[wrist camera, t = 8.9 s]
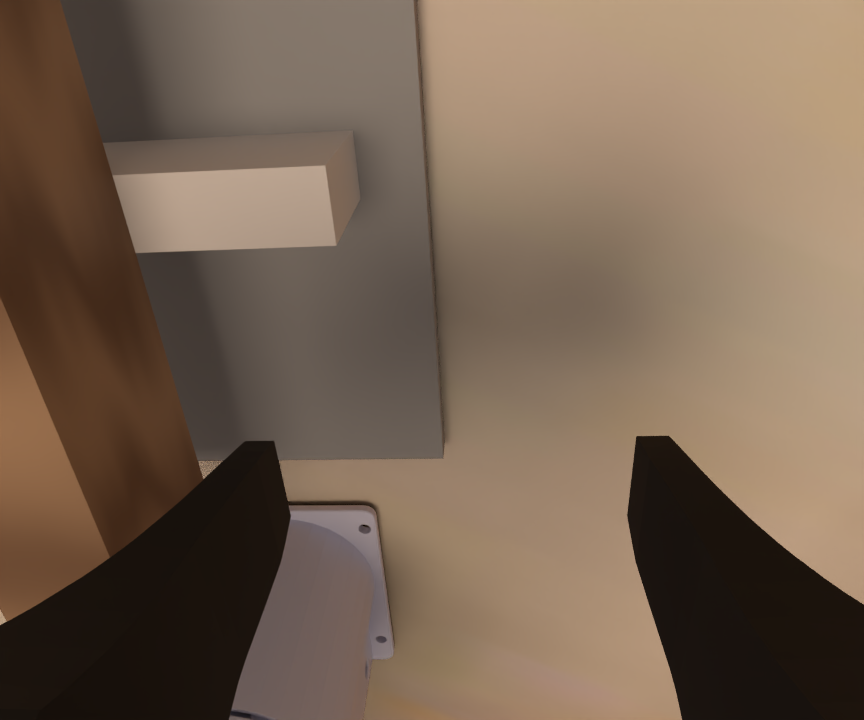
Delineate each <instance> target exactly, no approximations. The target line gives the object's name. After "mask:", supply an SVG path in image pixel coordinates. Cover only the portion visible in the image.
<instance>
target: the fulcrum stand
mask: <svg viewBox="0 0 864 720" xmlns="http://www.w3.org/2000/svg"><path fill="white" fill-rule="evenodd" d="M60 2H61V5H62V8H63V12H64V15H65V18H66V22H67V25H68V28H69V32H70V35H71V39H72V42H73V45H74V49H75V52H76V55H77V59H78V62H79V65H80V69H81V72H82V75H83V79H84V82H85V85H86V89H87V92H88V95H89V99H90V102H91V105H92V109H93V112H94V115H95V119H96V122H97V126H98V129H99V132H100V136H101V139H102V142H103V146H104V149H105V152H106V156H107V159H108V162H109V166H110V169H111V172H112V176H113V179H114V182H115V186H116V189H117V192H118V196H119V199H120V202H121V206H122V209H123V213H124V216H125V219H126V223H127V226H128V229H129V233H130V236H131V239H132V243H133V246H134V249H135V253H136V256H137V259H138V263H139V266H140V269H141V273H142V276H143V279H144V283H145V286H146V289H147V293H148V296H149V300H150V303H151V306H152V310H153V313H154V316H155V320H156V323H157V326H158V330H159V333H160V336H161V340H162V343H163V346H164V350H165V353H166V356H167V360H168V363H169V366H170V370H171V373H172V376H173V380H174V383H175V387H176V390H177V393H178V397H179V400H180V403H181V407H182V410H183V413H184V417H185V420H186V423H187V427H188V430H189V433H190V437H191V440H192V443H193V447H194V450H195V453H196V457H197V460H198V461H224V460H225V459H226V458H227V457H228V456H229V455H230V454H231V453H232V452H233V451H234V450H236V449H237V448H238V447H239V446H240V445H241V444H242V443H243V442H245V441H274V442H275V447H276V451H277V456H278V460H332V459H436V458H443V457H444V443H445V442H444V426H443V410H442V394H441V378H440V362H439V347H438V331H437V315H436V299H435V283H434V267H433V251H432V236H431V220H430V204H429V188H428V172H427V156H426V140H425V125H424V109H423V93H422V77H421V61H420V45H419V29H418V14H417V0H60Z"/></svg>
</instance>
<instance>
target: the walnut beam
mask: <svg viewBox="0 0 864 720" xmlns="http://www.w3.org/2000/svg"><path fill="white" fill-rule="evenodd" d="M201 481H203V477H202V474H201V470H200V467H199V464H198V460H197V457H196V453H195V450H194V447H193V443H192V440H191V437H190V433H189V430H188V427H187V423H186V420H185V417H184V413H183V410H182V407H181V403H180V400H179V397H178V393H177V390H176V387H175V383H174V380H173V376H172V373H171V370H170V366H169V363H168V360H167V356H166V353H165V350H164V346H163V343H162V340H161V336H160V333H159V330H158V326H157V323H156V320H155V316H154V313H153V310H152V306H151V303H150V300H149V296H148V293H147V289H146V286H145V283H144V279H143V276H142V273H141V269H140V266H139V263H138V259H137V256H136V253H135V249H134V246H133V243H132V239H131V236H130V233H129V229H128V226H127V223H126V219H125V216H124V213H123V209H122V206H121V202H120V199H119V196H118V192H117V189H116V186H115V182H114V179H113V176H112V172H111V169H110V166H109V162H108V159H107V156H106V152H105V149H104V146H103V142H102V139H101V136H100V132H99V129H98V126H97V122H96V119H95V115H94V112H93V109H92V105H91V102H90V99H89V95H88V92H87V89H86V85H85V82H84V79H83V75H82V72H81V69H80V65H79V62H78V59H77V55H76V52H75V49H74V45H73V42H72V39H71V35H70V32H69V28H68V25H67V22H66V18H65V15H64V12H63V8H62V5H61V2H60V0H0V610H1V612H2V613H3V615H4V617H5V619H6V620H7V621H9V620H11V619H13V618H14V617H16V616H18V615H20V614H22V613H23V612H25V611H27V610H29V609H31V608H32V607H34V606H36V605H37V604H39V603H41V602H42V601H44V600H46V599H47V598H49V597H50V596H52V595H54V594H55V593H57V592H58V591H60V590H62V589H63V588H65V587H67V586H68V585H70V584H71V583H73V582H75V581H76V580H78V579H80V578H81V577H83V576H84V575H86V574H87V573H89V572H90V571H92V570H93V569H94V568H96V567H97V566H99V565H100V564H102V563H103V562H104V561H106V560H107V559H109V558H110V557H111V556H113V555H114V554H116V553H117V552H118V551H120V550H121V549H122V548H124V547H125V546H126V545H128V544H129V543H130V542H132V541H133V540H134V539H135V538H137V537H138V536H139V535H140V534H142V533H143V532H144V531H145V530H146V529H148V528H149V527H150V526H151V525H152V524H154V523H155V522H156V521H157V520H158V519H160V518H161V517H162V516H163V515H164V514H166V513H167V512H168V511H169V510H170V509H171V508H173V507H174V506H175V505H176V504H177V503H178V502H180V501H181V500H182V499H183V498H184V497H185V496H186V495H187V494H188V493H189V492H191V491H192V490H193V489H194V488H195V487H196V486H197V485H198V484H199V483H200V482H201Z"/></svg>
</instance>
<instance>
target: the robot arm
mask: <svg viewBox="0 0 864 720" xmlns="http://www.w3.org/2000/svg"><path fill="white" fill-rule="evenodd" d="M627 516H628V522H629V528H630V533H631V539H632V544H633V550H634V555H635V560H636V564H637V567H638V571H639V574H640V577H641V580H642V583H643V586H644V590H645V593H646V596H647V599H648V602H649V605H650V608H651V611H652V615H653V618H654V621H655V624H656V627H657V630H658V633H659V636H660V639H661V642H662V646H663V649H664V652H665V655H666V658H667V661H668V664H669V667H670V671H671V674H672V678H673V682H674V685H675V689H676V693H677V697H678V702H679V707H680V711H681V716H682V720H864V605H863V604H862V603H860V602H859V601H857V600H856V599H854V598H852V597H851V596H849V595H848V594H846V593H845V592H843V591H842V590H840V589H839V588H837V587H836V586H835V585H833V584H832V583H830V582H829V581H827V580H826V579H825V578H823V577H822V576H821V575H819V574H818V573H817V572H815V571H814V570H813V569H811V568H810V567H809V566H807V565H806V564H804V563H803V562H802V561H800V560H799V559H798V558H796V557H795V556H794V555H793V554H791V553H790V552H789V551H788V550H786V549H785V548H784V547H783V546H781V545H780V544H779V543H778V542H776V541H775V540H774V539H773V538H772V537H771V536H770V535H768V534H767V533H766V532H765V531H764V530H763V529H761V528H760V527H759V526H758V525H757V524H756V523H755V522H753V521H752V520H751V519H750V518H749V517H748V516H747V515H746V514H745V513H744V512H743V511H742V510H741V509H740V508H739V507H737V506H736V505H735V504H734V503H733V502H732V501H731V500H730V499H729V498H728V497H727V496H726V495H725V494H724V493H723V492H722V491H721V490H720V489H719V488H718V487H717V486H716V485H715V484H714V483H713V482H712V481H711V480H710V479H709V478H708V477H707V476H706V475H705V474H704V472H703V471H702V470H701V469H700V468H699V467H698V466H697V465H696V464H695V463H694V462H693V461H692V460H691V459H690V458H689V457H688V456H687V454H686V453H685V452H684V451H683V450H682V449H681V448H680V447H679V446H678V445H677V444H676V443H675V442H674V441H673V440H672V439H671V438H670V437H669V436H636V445H635V453H634V462H633V471H632V479H631V488H630V497H629V505H628V514H627ZM362 525H368V526H369V527H364V526H362ZM393 654H394V640H393V633H392V625H391V618H390V611H389V603H388V596H387V588H386V581H385V574H384V566H383V559H382V552H381V544H380V537H379V530H378V522H377V515H376V512H375V510H374V509H373V508H371V507H369V506H365V505H296V506H289V505H288V501H287V496H286V492H285V487H284V483H283V478H282V474H281V469H280V465H279V460H278V456H277V451H276V447H275V442H274V441H245V442H243V443H242V444H241V445H240V446H239V447H238V448H237V449H236V450H234V451H233V452H232V453H231V454H230V455H229V456H228V457H227V458H226V459H225V460H224V461H223V462H222V463H221V464H220V465H218V466H217V467H216V468H215V469H214V470H213V471H212V472H211V473H210V474H209V475H208V476H207V477H206V478H205V479H204V480H203V481H201V482H200V483H199V484H198V485H197V486H196V487H195V488H194V489H193V490H192V491H191V492H189V493H188V494H187V495H186V496H185V497H184V498H183V499H182V500H181V501H180V502H178V503H177V504H176V505H175V506H174V507H173V508H171V509H170V510H169V511H168V512H167V513H166V514H164V515H163V516H162V517H161V518H160V519H158V520H157V521H156V522H155V523H154V524H152V525H151V526H150V527H149V528H148V529H146V530H145V531H144V532H143V533H142V534H140V535H139V536H138V537H137V538H135V539H134V540H133V541H132V542H130V543H129V544H128V545H126V546H125V547H124V548H122V549H121V550H120V551H118V552H117V553H116V554H114V555H113V556H111V557H110V558H109V559H107V560H106V561H104V562H103V563H102V564H100V565H99V566H97V567H96V568H94V569H93V570H92V571H90V572H89V573H87V574H86V575H84V576H83V577H81V578H80V579H78V580H76V581H75V582H73V583H71V584H70V585H68V586H67V587H65V588H63V589H62V590H60V591H58V592H57V593H55V594H54V595H52V596H50V597H49V598H47V599H46V600H44V601H42V602H41V603H39V604H37V605H36V606H34V607H32V608H31V609H29V610H27V611H25V612H23V613H22V614H20V615H18V616H16V617H14V618H13V619H11V620H9V621H7V622H5V623H3V624H2V625H0V720H363V717H364V710H365V704H366V697H367V691H368V684H369V678H370V671H371V665H372V659H389V658H391V657H392V656H393Z"/></svg>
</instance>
